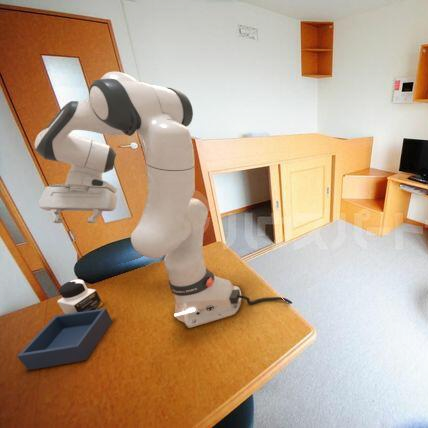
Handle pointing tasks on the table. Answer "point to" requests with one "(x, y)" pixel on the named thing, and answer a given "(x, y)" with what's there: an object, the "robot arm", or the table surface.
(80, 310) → the medicine bottle
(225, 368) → the table surface
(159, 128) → the robot arm
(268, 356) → the table surface
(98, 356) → the table surface
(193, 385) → the table surface
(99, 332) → the bin
